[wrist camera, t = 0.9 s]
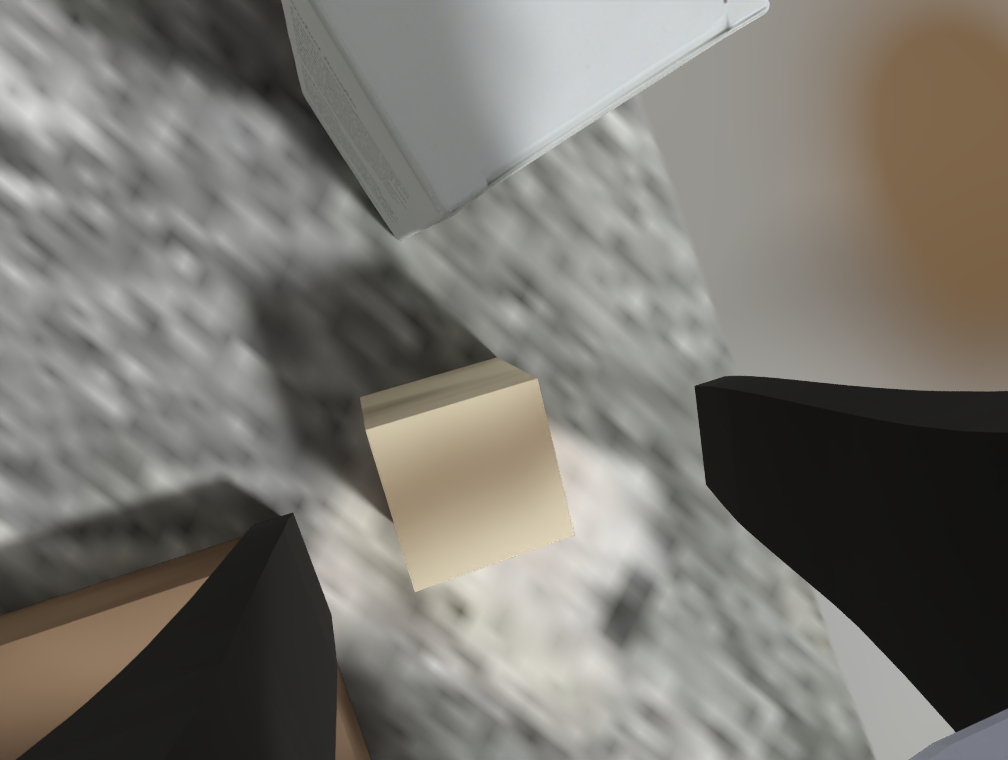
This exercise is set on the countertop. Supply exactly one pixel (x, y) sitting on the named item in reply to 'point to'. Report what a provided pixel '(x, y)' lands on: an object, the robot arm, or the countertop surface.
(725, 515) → the countertop surface
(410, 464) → the maple cube
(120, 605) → the walnut block
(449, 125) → the small box
